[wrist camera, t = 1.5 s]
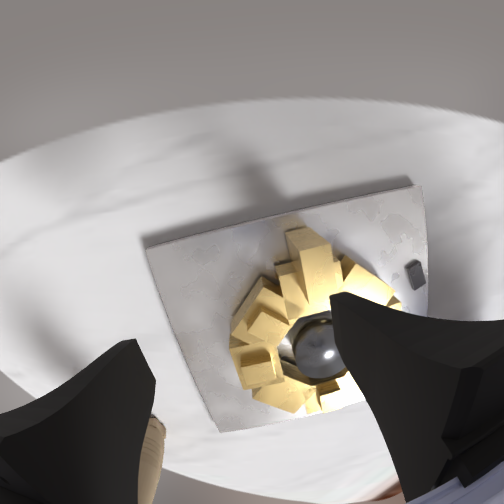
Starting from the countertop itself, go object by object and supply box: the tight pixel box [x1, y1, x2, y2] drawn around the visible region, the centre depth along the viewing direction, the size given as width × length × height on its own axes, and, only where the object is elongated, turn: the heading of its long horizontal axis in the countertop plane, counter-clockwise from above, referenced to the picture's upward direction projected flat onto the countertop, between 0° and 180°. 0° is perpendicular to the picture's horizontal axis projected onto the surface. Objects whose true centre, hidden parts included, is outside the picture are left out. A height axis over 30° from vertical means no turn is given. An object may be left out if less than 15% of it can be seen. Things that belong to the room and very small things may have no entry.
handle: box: [138, 418, 166, 504], centre depth 17 cm, size 5×6×15 cm
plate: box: [145, 185, 428, 433], centre depth 20 cm, size 18×20×4 cm
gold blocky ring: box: [229, 227, 401, 414], centre depth 18 cm, size 14×12×5 cm
